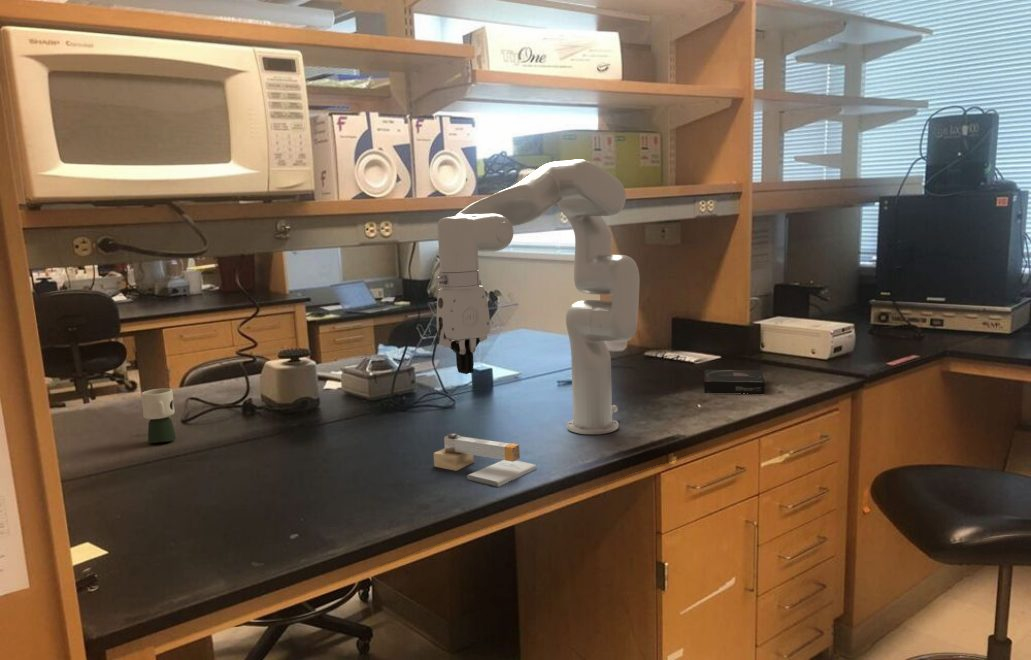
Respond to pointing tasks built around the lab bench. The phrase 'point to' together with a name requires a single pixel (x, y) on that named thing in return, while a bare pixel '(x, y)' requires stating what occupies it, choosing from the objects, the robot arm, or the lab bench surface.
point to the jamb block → (452, 460)
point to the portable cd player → (734, 381)
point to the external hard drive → (501, 472)
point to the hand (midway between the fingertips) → (465, 372)
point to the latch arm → (481, 447)
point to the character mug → (159, 414)
